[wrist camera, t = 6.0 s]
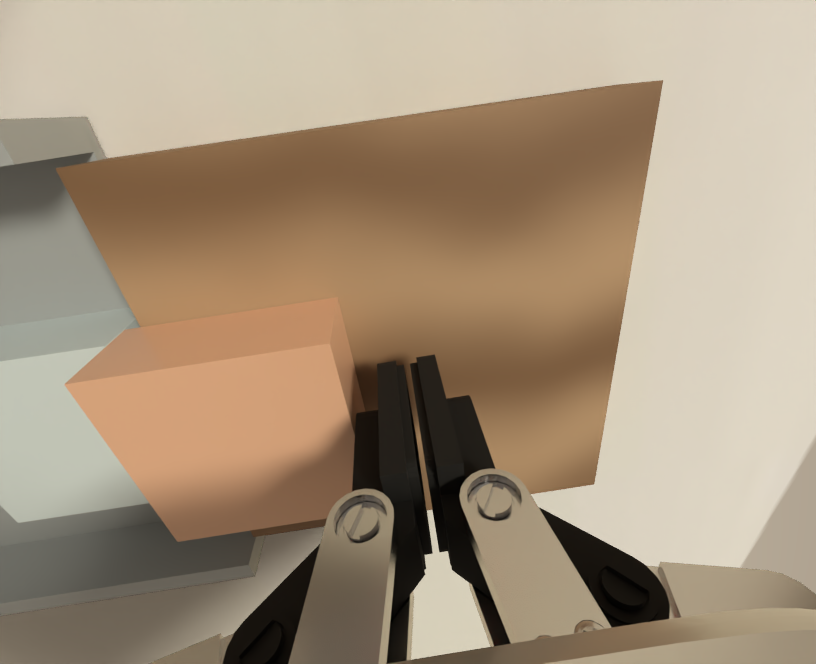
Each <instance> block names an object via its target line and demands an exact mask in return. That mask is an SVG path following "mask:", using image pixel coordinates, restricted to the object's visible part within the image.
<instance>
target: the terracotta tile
mask: <svg viewBox="0 0 816 664" xmlns="http://www.w3.org/2000/svg"><path fill="white" fill-rule="evenodd" d="M64 385H65V386H66V388H67V389H68V391H69V392H70V393H71V395H72V396H73V398H74V399H75V400H76V402H77V403H78V405H79V406H80V407H81V409H82V410H83V411H84V413H85V414H86V416H87V417H88V418H89V420H90V421H91V423H92V424H93V425H94V427H95V428H96V430H97V431H98V432H99V434H100V435H101V436H102V438H103V439H104V441H105V442H106V443H107V445H108V446H109V448H110V449H111V450H112V452H113V453H114V455H115V456H116V457H117V459H118V460H119V461H120V463H121V464H122V466H123V467H124V468H125V470H126V471H127V473H128V474H129V475H130V477H131V478H132V479H133V481H134V482H135V484H136V485H137V486H138V488H139V489H140V491H141V492H142V493H143V495H144V496H145V498H146V499H147V500H148V502H149V503H150V504H151V506H152V507H153V509H154V510H155V511H156V513H157V514H158V516H159V517H160V518H161V520H162V521H163V523H164V524H165V525H166V527H167V528H168V529H169V531H170V532H171V534H172V535H173V536H174V538H175V539H176V541H177V542H181V541H187V540H193V539H200V538H206V537H212V536H219V535H225V534H231V533H238V532H244V531H250V530H257V529H263V528H269V527H276V526H282V525H288V524H294V523H301V522H307V521H313V520H320V519H326V518H327V517H328V515H329V513H330V510H331V509H332V507H333V506H334V505H335V504H336V502H337V501H338V500H339V499H341V498H342V497H343V496H345V495H346V494H348V493H350V492H352V483H353V463H354V443H355V422H356V414H357V413H360V412H365V408H364V404H363V399H362V395H361V391H360V387H359V383H358V379H357V375H356V370H355V366H354V362H353V358H352V354H351V350H350V346H349V342H348V337H347V333H346V329H345V325H344V321H343V317H342V313H341V308H340V304H339V300H338V297H334V298H328V299H321V300H315V301H308V302H302V303H295V304H289V305H282V306H276V307H269V308H263V309H256V310H250V311H243V312H237V313H230V314H224V315H217V316H210V317H204V318H197V319H191V320H184V321H178V322H171V323H165V324H158V325H152V326H145V327H139V328H132V329H126V330H124V331H123V332H122V333H121V334H119V335H118V336H117V337H116V338H115V339H114V340H113V341H112V342H111V343H109V344H108V345H107V346H106V347H105V348H104V349H103V350H102V351H100V352H99V353H98V354H97V355H96V356H95V357H94V358H93V359H92V360H91V361H89V362H88V363H87V364H86V365H85V366H84V367H83V368H82V369H81V370H79V371H78V372H77V373H76V374H75V375H74V376H73V377H72V378H71V379H70V380H68V381H67V382H66V383H65V384H64Z"/></svg>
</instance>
